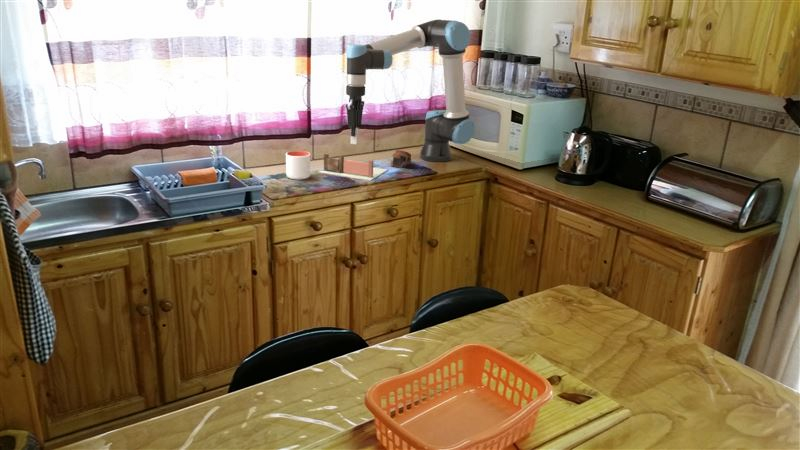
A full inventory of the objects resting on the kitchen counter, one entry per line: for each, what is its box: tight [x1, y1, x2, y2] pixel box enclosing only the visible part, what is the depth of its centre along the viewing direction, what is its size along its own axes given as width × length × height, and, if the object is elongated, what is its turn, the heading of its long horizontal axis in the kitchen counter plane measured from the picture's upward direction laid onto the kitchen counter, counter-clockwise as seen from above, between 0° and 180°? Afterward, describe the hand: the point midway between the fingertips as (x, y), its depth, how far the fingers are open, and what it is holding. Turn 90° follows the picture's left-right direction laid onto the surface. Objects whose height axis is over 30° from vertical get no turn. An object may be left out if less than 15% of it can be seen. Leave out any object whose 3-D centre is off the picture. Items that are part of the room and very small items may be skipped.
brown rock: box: [390, 149, 412, 169], centre depth 290 cm, size 12×10×8 cm
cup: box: [285, 150, 311, 181], centre depth 265 cm, size 10×10×10 cm
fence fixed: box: [323, 153, 345, 173], centre depth 274 cm, size 9×2×8 cm, turn 69°
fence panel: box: [343, 159, 374, 177], centre depth 270 cm, size 13×2×7 cm, turn 69°
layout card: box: [317, 167, 388, 182], centre depth 278 cm, size 24×19×1 cm
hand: (354, 143), depth 260 cm, fingers closed
